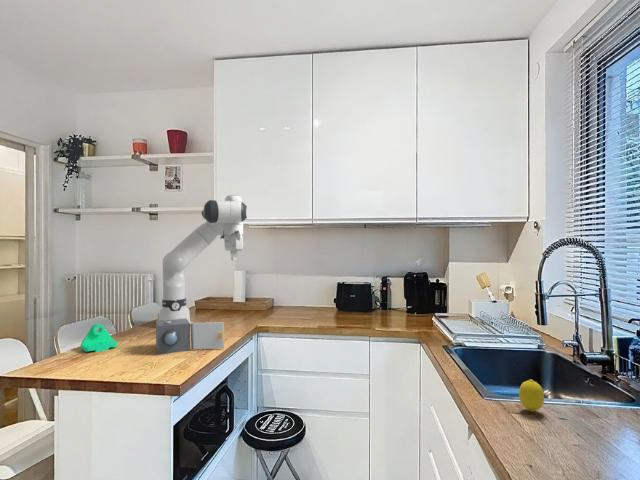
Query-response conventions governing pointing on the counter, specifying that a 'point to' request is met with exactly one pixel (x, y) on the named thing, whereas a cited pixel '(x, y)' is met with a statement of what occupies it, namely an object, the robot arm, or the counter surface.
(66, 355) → the counter surface
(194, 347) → the side door
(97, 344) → the camera mount
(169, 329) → the camera housing
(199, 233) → the robot arm
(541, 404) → the lemon
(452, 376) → the counter surface
